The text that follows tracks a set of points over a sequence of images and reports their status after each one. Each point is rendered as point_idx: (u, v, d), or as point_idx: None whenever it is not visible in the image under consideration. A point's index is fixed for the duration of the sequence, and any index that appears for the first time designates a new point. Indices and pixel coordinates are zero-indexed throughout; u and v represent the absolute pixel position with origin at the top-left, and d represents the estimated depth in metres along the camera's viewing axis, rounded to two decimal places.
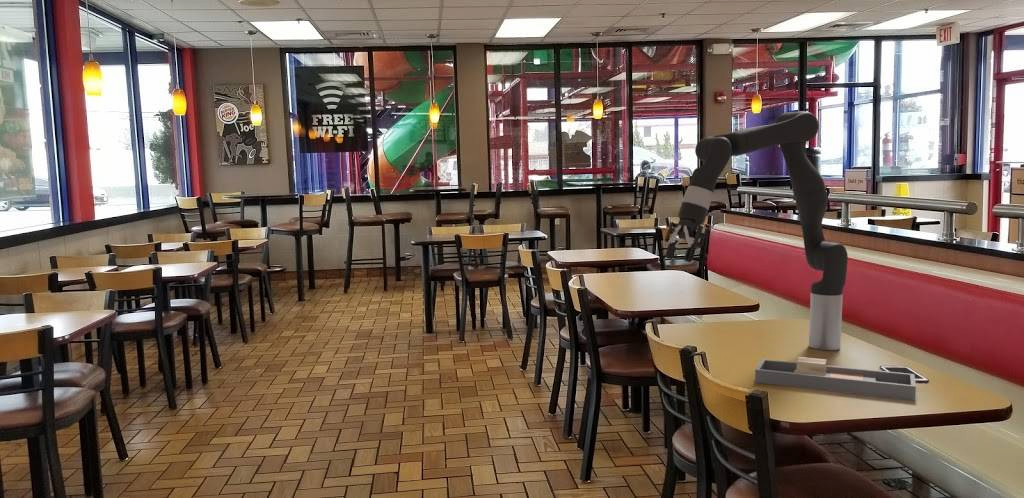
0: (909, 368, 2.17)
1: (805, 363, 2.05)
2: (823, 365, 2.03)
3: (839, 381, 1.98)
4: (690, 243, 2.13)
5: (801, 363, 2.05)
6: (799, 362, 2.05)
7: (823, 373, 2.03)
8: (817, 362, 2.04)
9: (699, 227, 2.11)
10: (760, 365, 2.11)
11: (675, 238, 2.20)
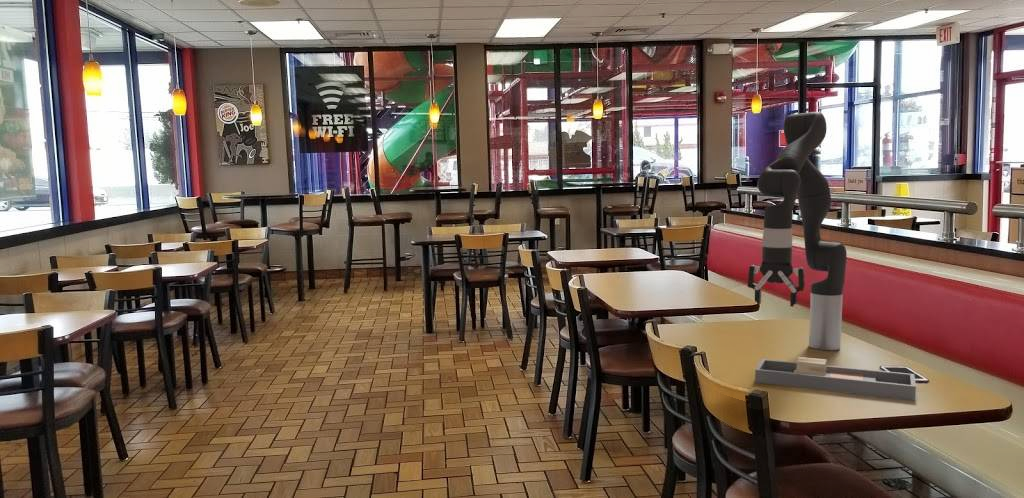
0: (909, 368, 2.18)
1: (805, 363, 2.05)
2: (823, 365, 2.03)
3: (839, 381, 1.98)
4: (794, 288, 2.05)
5: (801, 363, 2.05)
6: (799, 362, 2.05)
7: (823, 373, 2.03)
8: (817, 362, 2.04)
9: (801, 271, 2.04)
10: (760, 365, 2.11)
11: (763, 283, 2.09)
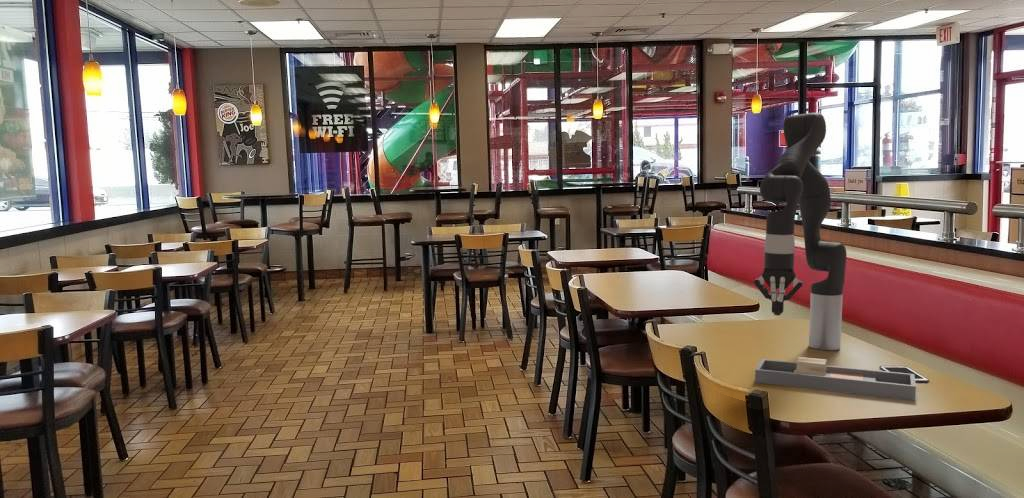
0: (909, 368, 2.18)
1: (805, 363, 2.05)
2: (823, 365, 2.03)
3: (839, 381, 1.98)
4: (782, 298, 2.07)
5: (801, 363, 2.05)
6: (799, 362, 2.05)
7: (823, 373, 2.03)
8: (817, 362, 2.04)
9: (800, 285, 2.04)
10: (760, 365, 2.11)
11: (776, 291, 2.08)
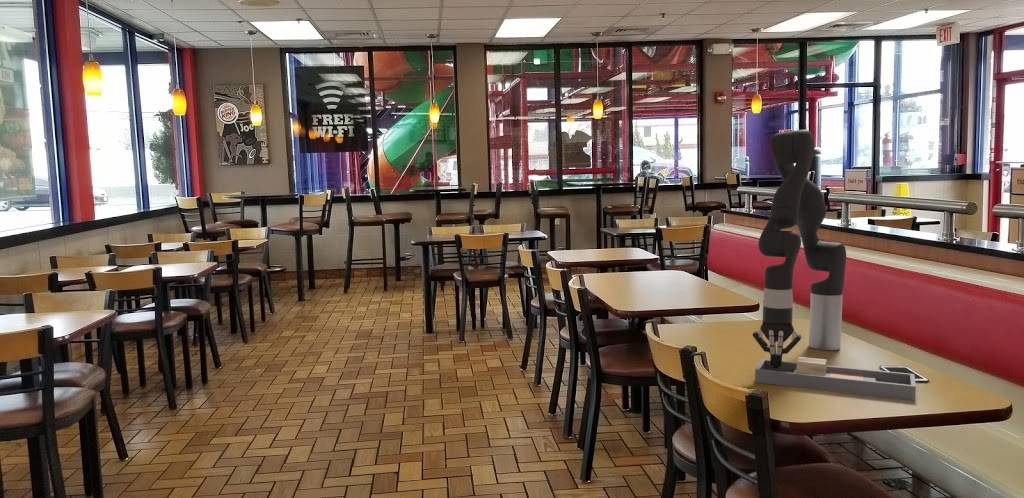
0: (909, 368, 2.18)
1: (805, 363, 2.05)
2: (823, 365, 2.03)
3: (839, 381, 1.98)
4: (780, 351, 2.08)
5: (801, 363, 2.05)
6: (799, 362, 2.05)
7: (823, 373, 2.03)
8: (817, 362, 2.04)
9: (798, 339, 2.06)
10: (760, 365, 2.11)
11: (774, 344, 2.09)
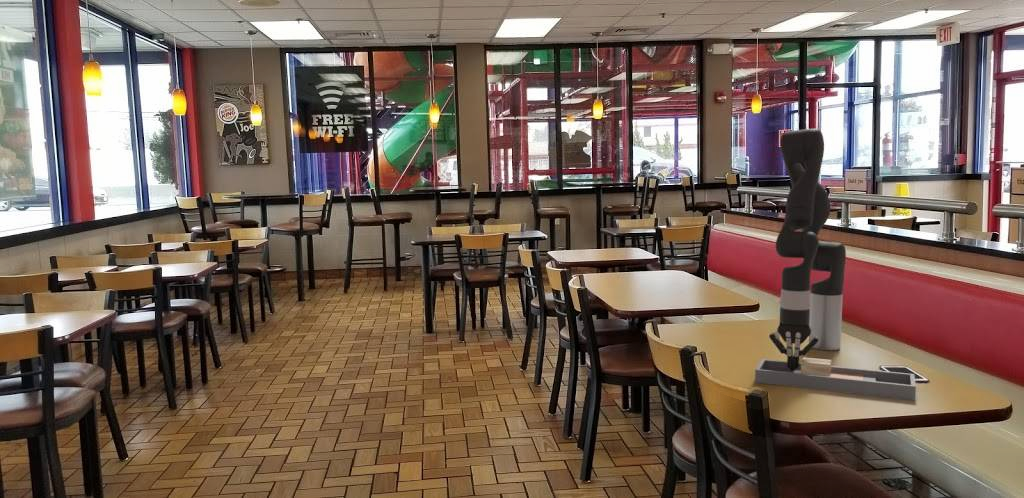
0: (909, 368, 2.18)
1: (810, 363, 2.04)
2: (828, 366, 2.02)
3: (839, 381, 1.98)
4: (797, 353, 2.07)
5: (806, 363, 2.05)
6: (804, 362, 2.05)
7: (828, 374, 2.02)
8: (822, 363, 2.04)
9: (815, 341, 2.04)
10: (760, 365, 2.11)
11: (791, 346, 2.07)
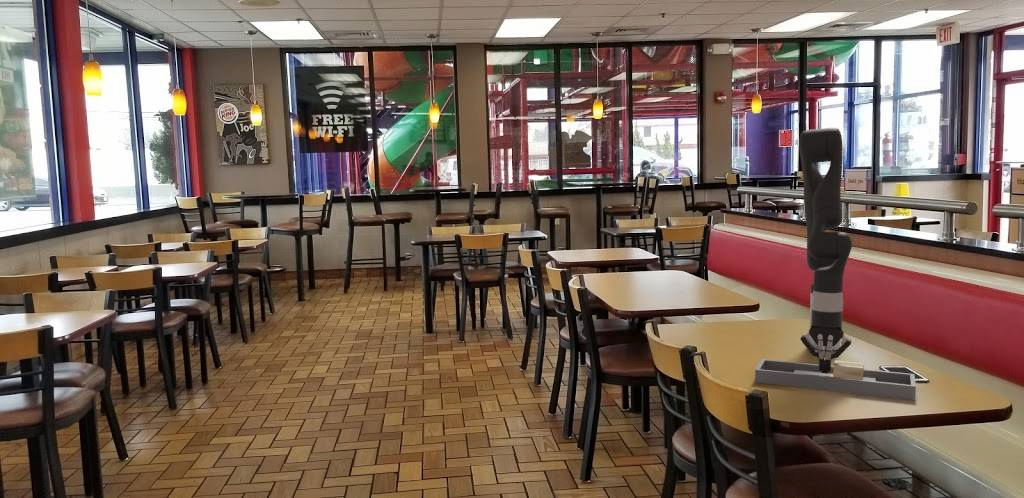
0: (909, 368, 2.18)
1: (842, 367, 2.00)
2: (861, 369, 1.99)
3: (839, 381, 1.98)
4: (829, 356, 2.03)
5: (838, 367, 2.01)
6: (836, 366, 2.01)
7: (861, 377, 1.99)
8: (855, 366, 2.00)
9: (848, 343, 2.01)
10: (760, 365, 2.11)
11: (823, 348, 2.04)
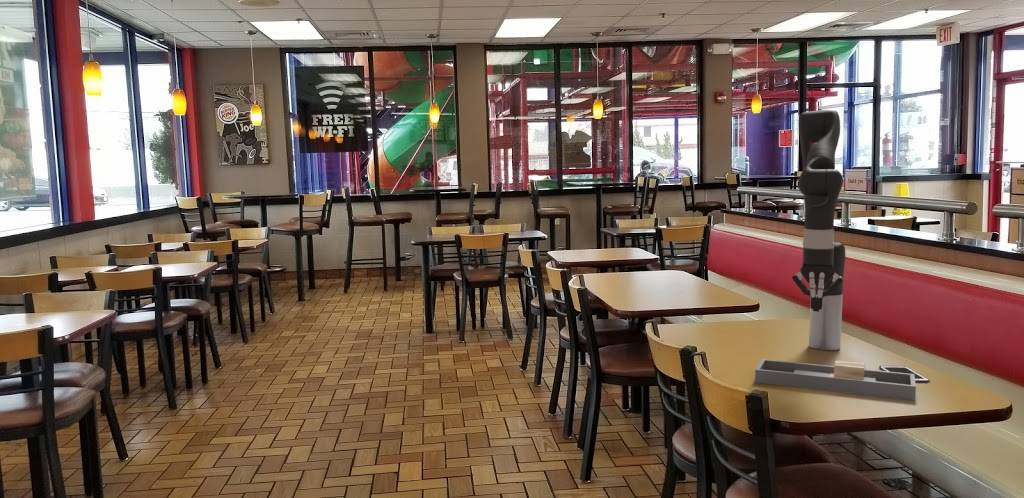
0: (908, 368, 2.18)
1: (843, 367, 2.00)
2: (862, 369, 1.99)
3: (839, 381, 1.98)
4: (821, 294, 2.03)
5: (839, 367, 2.01)
6: (837, 366, 2.01)
7: (862, 377, 1.99)
8: (855, 366, 2.00)
9: (840, 281, 2.01)
10: (760, 365, 2.11)
11: (815, 286, 2.04)
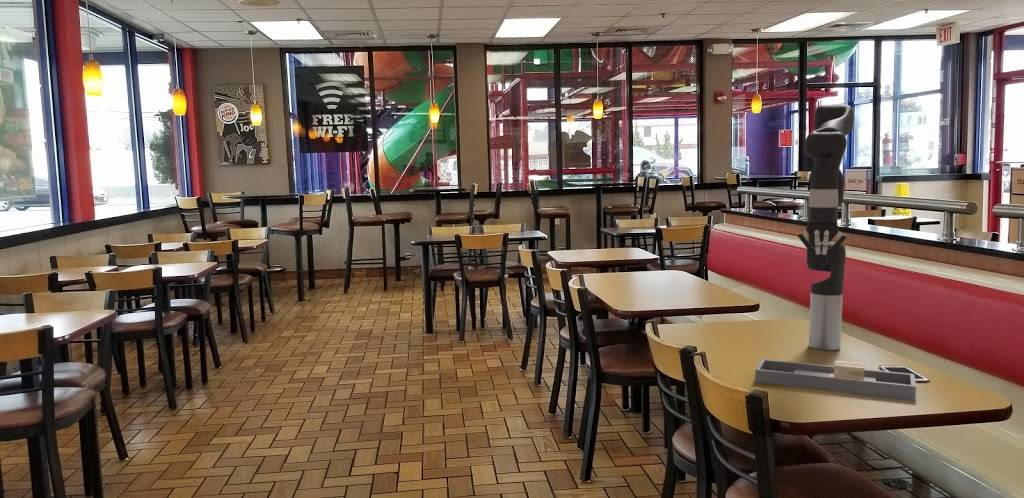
0: (908, 368, 2.18)
1: (843, 367, 2.00)
2: (862, 369, 1.99)
3: (839, 381, 1.98)
4: (825, 251, 2.14)
5: (839, 367, 2.01)
6: (837, 366, 2.01)
7: (862, 377, 1.99)
8: (855, 366, 2.00)
9: (843, 238, 2.11)
10: (760, 365, 2.11)
11: (820, 244, 2.15)
